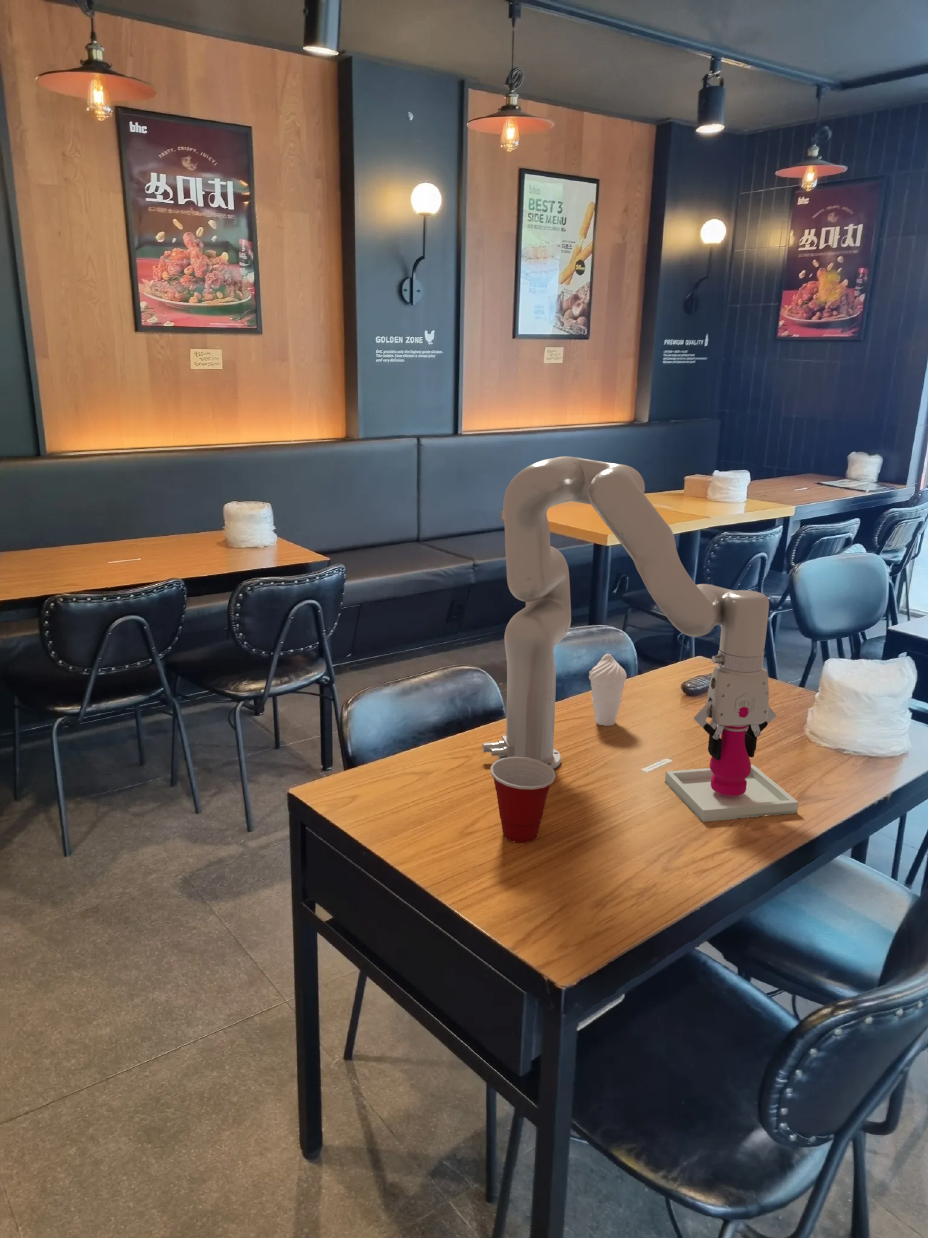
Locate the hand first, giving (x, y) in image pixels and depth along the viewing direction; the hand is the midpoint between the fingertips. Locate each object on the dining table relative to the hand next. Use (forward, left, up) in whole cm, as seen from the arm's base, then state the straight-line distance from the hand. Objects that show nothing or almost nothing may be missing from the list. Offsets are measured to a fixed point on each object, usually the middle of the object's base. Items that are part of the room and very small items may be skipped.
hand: (731, 754), depth 158 cm
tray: (0, 0, -8) cm, 8 cm away
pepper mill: (0, 0, -7) cm, 7 cm away
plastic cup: (-41, -7, -9) cm, 42 cm away
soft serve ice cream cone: (-10, +39, -9) cm, 41 cm away
